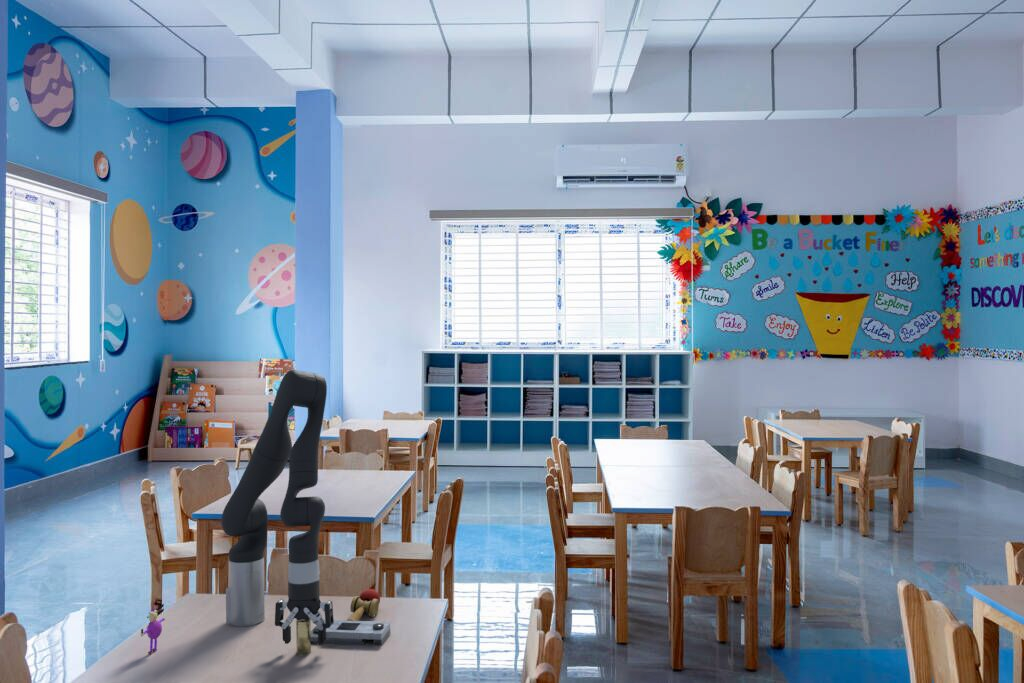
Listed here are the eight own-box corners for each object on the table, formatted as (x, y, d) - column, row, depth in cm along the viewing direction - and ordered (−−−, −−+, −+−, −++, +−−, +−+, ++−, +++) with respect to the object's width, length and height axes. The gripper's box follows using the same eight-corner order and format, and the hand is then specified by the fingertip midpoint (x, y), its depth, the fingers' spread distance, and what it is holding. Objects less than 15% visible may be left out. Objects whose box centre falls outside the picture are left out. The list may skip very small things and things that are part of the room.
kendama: (367, 635, 204) (388, 602, 222) (362, 613, 204) (383, 582, 221) (340, 639, 206) (363, 606, 223) (335, 617, 205) (358, 586, 223)
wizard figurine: (159, 643, 196) (159, 596, 196) (171, 643, 196) (171, 596, 196) (135, 662, 185) (135, 612, 185) (148, 662, 185) (148, 612, 185)
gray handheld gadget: (305, 642, 196) (305, 628, 196) (317, 630, 204) (316, 617, 204) (381, 645, 194) (381, 631, 194) (390, 633, 202) (390, 619, 202)
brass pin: (294, 654, 189) (294, 622, 188) (299, 649, 192) (299, 617, 192) (307, 655, 188) (307, 622, 188) (313, 649, 191) (312, 617, 191)
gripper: (269, 581, 187) (270, 648, 187) (326, 583, 185) (326, 650, 185) (282, 572, 195) (283, 636, 195) (336, 574, 193) (337, 638, 193)
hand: (304, 643), depth 190 cm, fingers open, 8 cm apart
